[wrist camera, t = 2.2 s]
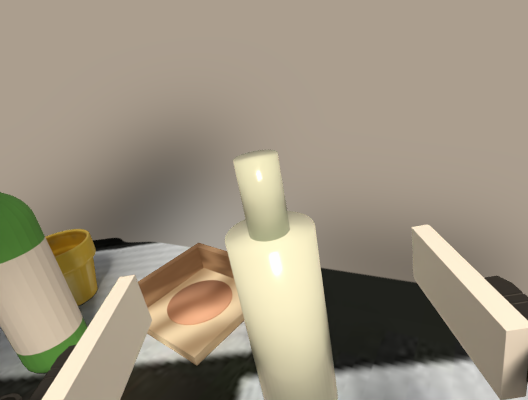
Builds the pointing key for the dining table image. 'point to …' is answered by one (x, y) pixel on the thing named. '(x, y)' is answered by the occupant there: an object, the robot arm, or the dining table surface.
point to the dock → (193, 302)
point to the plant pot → (75, 261)
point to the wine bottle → (33, 291)
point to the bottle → (280, 286)
